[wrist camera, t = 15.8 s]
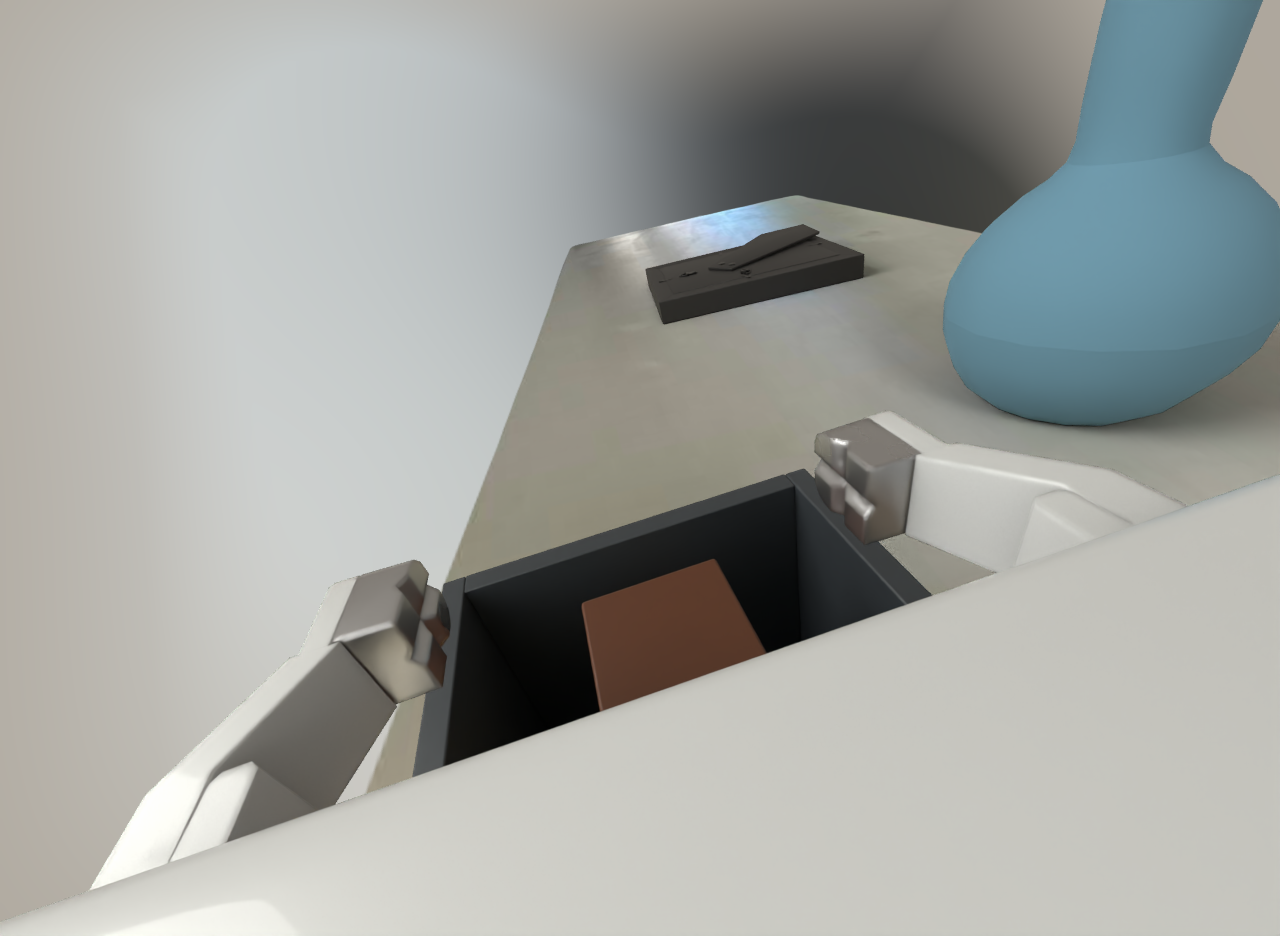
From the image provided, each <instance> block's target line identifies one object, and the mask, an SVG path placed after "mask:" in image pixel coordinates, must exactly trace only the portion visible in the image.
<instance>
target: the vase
mask: <svg viewBox="0 0 1280 936" xmlns="http://www.w3.org/2000/svg"><path fill="white" fill-rule="evenodd" d="M1262 2H1263V0H1106V3H1105V7H1104V10H1103V14H1102V18H1101V22H1100V26H1099V31H1098V35H1097V40H1096V45H1095V49H1094V53H1093V58H1092V62H1091V67H1090V71H1089V76H1088V80H1087V85H1086V89H1085V94H1084V98H1083V103H1082V109H1081V115H1080V120H1079V125H1078V131H1077V136H1076V142H1075V144H1074V146H1073V149H1072V151H1071V153H1070V156H1069V158H1068V160H1067V162H1066V163H1065V164H1064V165H1063V166H1062V167H1061V168H1060V169H1059V170H1058V171H1057V172H1056V173H1055V174H1053V175H1052V176H1051V178H1049V179H1048V180H1047V181H1045V182H1044V183H1042V184H1041V185H1039V186H1038V187H1036V188H1034V189H1033V190H1032V191H1030V192H1028V193H1027V194H1025V195H1024V196H1023V197H1021V198H1020V199H1019V200H1018V201H1017V202H1016V203H1014V205H1012V206H1011V207H1010V208H1009V209H1008V210H1006V211H1005V212H1004V213H1003V214H1002V215H1001V216H999V217H998V218H997V219H996V220H995V221H994V222H993V223H992V224H991V225H990V226H989V227H988V228H987V229H986V230H985V231H984V232H983V233H982V234H981V236H980V237H979V238H978V239H977V240H976V241H975V243H974V244H973V245H972V246H971V247H970V249H969V250H968V251H967V252H966V253H965V255H964V257H963V259H962V261H961V262H960V264H959V266H958V268H957V269H956V271H955V273H954V275H953V277H952V278H951V280H950V282H949V286H948V290H947V294H946V298H945V302H944V316H943V332H944V336H945V340H946V343H947V347H948V350H949V354H950V357H951V360H952V363H953V366H954V368H955V370H956V371H957V373H958V374H959V376H960V377H961V379H962V381H963V382H964V384H965V385H966V387H967V388H968V389H970V390H971V391H973V392H974V393H976V394H977V395H979V396H980V397H982V398H983V399H985V400H986V401H988V402H989V403H991V404H992V405H994V406H995V407H997V408H998V409H1000V410H1003V411H1006V412H1009V413H1012V414H1015V415H1018V416H1021V417H1024V418H1027V419H1032V420H1038V421H1045V422H1051V423H1057V424H1063V425H1093V426H1103V425H1108V424H1113V423H1118V422H1123V421H1128V420H1133V419H1137V418H1141V417H1145V416H1150V415H1154V414H1158V413H1162V412H1164V411H1166V410H1167V409H1169V408H1171V407H1173V406H1175V405H1176V404H1178V403H1180V402H1182V401H1184V400H1185V399H1187V398H1189V397H1191V396H1192V395H1194V394H1196V393H1198V392H1199V391H1201V390H1203V389H1204V388H1206V387H1208V386H1210V385H1211V384H1213V383H1215V382H1217V381H1218V380H1220V379H1222V378H1223V377H1225V376H1227V375H1229V374H1230V373H1231V372H1233V371H1234V370H1235V369H1236V368H1237V367H1239V366H1240V365H1241V364H1242V363H1244V362H1245V361H1246V360H1247V359H1249V358H1250V357H1251V356H1252V355H1253V354H1255V353H1256V352H1257V351H1258V350H1260V349H1261V347H1262V346H1263V344H1264V343H1265V341H1266V340H1267V338H1268V337H1269V336H1270V334H1271V333H1272V331H1273V330H1274V328H1275V327H1276V325H1277V324H1278V322H1279V321H1280V208H1279V206H1278V204H1277V202H1276V201H1275V200H1274V199H1273V198H1272V197H1271V196H1270V195H1269V194H1268V193H1267V192H1266V191H1265V190H1264V189H1263V188H1262V187H1261V186H1260V185H1259V184H1258V183H1257V182H1256V181H1255V180H1254V179H1253V178H1252V177H1251V176H1250V175H1248V174H1246V173H1244V172H1243V171H1241V170H1239V169H1237V168H1236V167H1234V166H1232V165H1230V164H1229V163H1227V162H1225V161H1224V160H1223V159H1222V157H1221V156H1220V155H1219V154H1218V153H1217V151H1216V150H1215V149H1214V148H1213V146H1212V145H1211V144H1210V143H1209V142H1210V135H1211V128H1212V122H1213V120H1214V118H1215V115H1216V113H1217V111H1218V109H1219V106H1220V104H1221V102H1222V99H1223V97H1224V95H1225V93H1226V90H1227V88H1228V86H1229V84H1230V81H1231V79H1232V77H1233V74H1234V72H1235V70H1236V67H1237V64H1238V62H1239V60H1240V57H1241V54H1242V52H1243V49H1244V47H1245V44H1246V42H1247V39H1248V37H1249V34H1250V32H1251V29H1252V27H1253V24H1254V22H1255V19H1256V17H1257V14H1258V12H1259V9H1260V6H1261V4H1262Z"/></svg>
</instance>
